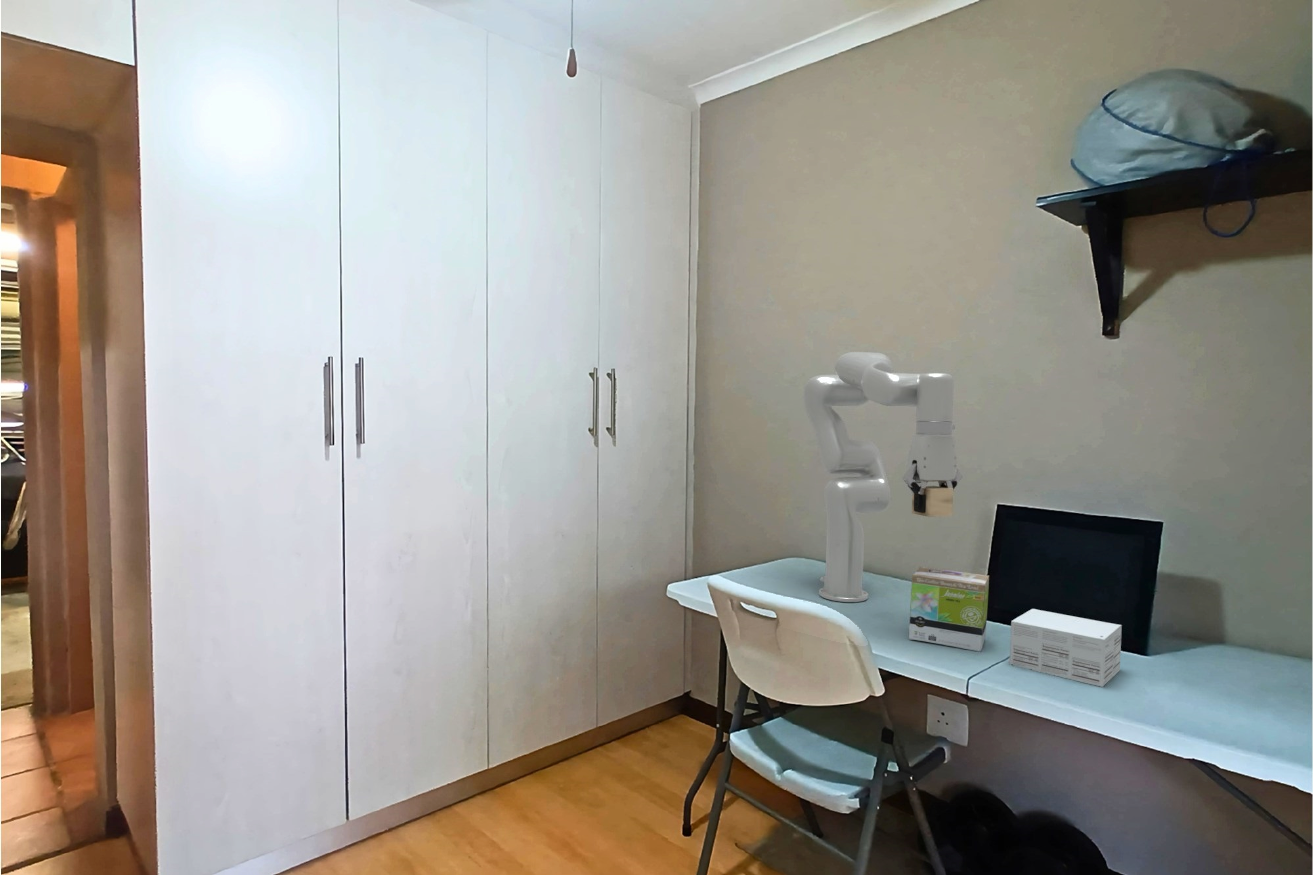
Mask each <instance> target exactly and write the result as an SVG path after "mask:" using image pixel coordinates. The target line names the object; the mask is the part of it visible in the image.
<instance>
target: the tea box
mask: <svg viewBox="0 0 1313 875" xmlns="http://www.w3.org/2000/svg"><path fill="white" fill-rule="evenodd" d="M989 581H990V575H986V574H980V573H979V574H978V573H973V572H964V571H956V570H951V569H949V570H948V569H941V568H934V567H926V566H925V567H924V566H918V568H917V570H916V571H915V572H914V573H913V574H912V577H911V589H910V591H911V592H910V607H909V609H910V610H909V625H908V626H909V628H908V638H909V639H908V640H912V641H919V642H920V641H921V642H927V643H932V644H938V645H943V646H949V647H954V648H958V649H964V650H968V651H972V652H973V651H974V652H978V653H980V652H981V651H982V649H983V646H984V642H985V640H986V633H987V632H986V631H987V620H988V604H989V603H988V602H989V586H990V585H989V584H990V582H989Z"/></svg>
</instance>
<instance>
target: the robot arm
mask: <svg viewBox="0 0 1313 875" xmlns="http://www.w3.org/2000/svg"><path fill="white" fill-rule="evenodd" d="M834 364H835V365H834V372H835V374H819V375H815V376H813V377H811V378H810V379H808V380H807V382H806V384H804V388H803V397H802V398H803V405H804V410H805V413H806V415H807V418H808V420H809V422H810V424H811V426H812V428H813V431H814V434H815V440H816V445H817V448H818V452H819V456H820V460H821V464H822V467H823V470H824V471H825V472H826V473H827V474H829V475H834V476H841V477H837V478H834V479H832V480H829V481H828V483H826V485H825V487H824V491H823V493H824V494H823V496H824V497H823V498H824V504H825V505H824V506H825V511H826V549H825V550H826V553H825V575H824V576H820V578H819V580H820V582H822V583H823V587H821V588H819V590H818V595H819V597H821V598H823V599H826V600H830V601H835V602H841V603H859V602H864V601H867V600H868V598H869V593H868V592H867V591H865V590H864V589H863V578H864V577H863V576H864V575H863V573H864V550H865V549H864V548H865V544H864V543H865V530H864V527H863V524H862V523H861V521H860V519H859V518H858V516H857V514H868V513H869V514H873V513H882V512H884V511H886V510H887V509H888V508H889V506H890V504H891V500H892V499H891V498H892V494H891V488H890V484H889V480H888V479H889V478H888V477H887V473H886V468H885V465H884V462H883V457H882V455H881V451H880V450H879V448H878V447H877V445H876V444H875V443H873V442H872V441H870V440H867V439H852V438H851V437H850V436H849V432H848V430H847V424H846V422H845V421H844V419H843V418H842V417H841V416H840V414H839V413H838V412H836V410H834V408H833V407H861V406H863V405H865V404H867V403H868V402H869V401H872V402H874V403H876V404H878V405H879V404H880V405H882V406H886V407H913V408H914V407H916V418H915V422H916V423H915V435H912V438H911V441H910V445H909V451H908V459H907V460H908V461H907V471H906V472H905V473H904V474H903V476H902V480H903V481H904V483H905V484H906V485H907V487H908V488H909V489H910V492H911V494H912V493H914V511H915V512H920V513H925V512H926V495H925V494H924V491H925V488H926V486H928V482H929V483H930V482H937V483H938V486H939V487H946V488H953V492H954V490H955V488H956V487H957V486H958V483H959V482H960V481H961V480H962V479H963V475H962V474H961V472H960V470H958V468H957V461H958V460H957V448H956V442H955V436H954V435H953V431H955V429H956V425H954V424H953V422H954V421H953V419H954V417H953V416H954V377H953V376H952V375H951V374H949V373H945V372H942V373H941V372H931V373H930V372H927V373H913V372H912V373H909V372H908V373H907V372H894V371H893V363H892V362H891V359H890V357H888V356H887V355H885V354H884V353H881V352H870V351H869V352H868V351H867V352H865V351H850V352H846V353H843V354H842V355H841V356H839V357H838V359H837V360H836V362H835V363H834ZM842 476H843V477H842ZM847 476H848V477H847ZM919 486H920V487H919Z"/></svg>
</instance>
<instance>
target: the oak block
mask: <svg viewBox="0 0 1313 875" xmlns="http://www.w3.org/2000/svg"><path fill="white" fill-rule="evenodd" d="M919 487H920V485H919ZM953 490H954V489H953V488H946V487H939V485H938V486H937V485H926V488H925V491H924V494H925V495H926V512H925V513H920V512H915V511H914V493H912V492H911V514H914V515H917V516H923V517H928V518H936V517H938V518H940V517H953V515H954V513H953V512H954V510H953V508H954V491H953Z"/></svg>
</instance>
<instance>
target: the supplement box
mask: <svg viewBox="0 0 1313 875" xmlns="http://www.w3.org/2000/svg"><path fill="white" fill-rule="evenodd" d="M1122 626H1123V625H1122V624H1117V623H1111V622H1106V621H1100V620H1095V619H1090V618H1084V617H1078V616H1073V615H1067V614H1063V613H1059V612H1058V613H1057V612H1052V611H1046V610H1042V609H1041V610H1040V609H1036V608H1031V609H1030V610H1028V611H1026V612H1024V613H1023V614H1020V615H1019V616H1017V617H1016V618H1014V619H1013V620H1011V623H1010V641H1009V642H1010V643H1009V645H1010V647H1009V662H1008V663H1009V664H1008V665H1010V664H1013V665H1015V666H1014V667H1018V666H1020V667H1019V668H1022V667H1023V669H1026V668H1027V670H1030V669H1032V670H1031V671H1033V672H1038V671H1040V672H1039V673H1043V674H1046V673H1047V675H1051V676H1054V675H1055V676H1056V677H1059V678H1063V679H1068V680H1072V681H1076V682H1081V683H1084V684H1089V685H1093V686H1097V687H1101V688H1103V687H1104V686H1105V685H1106V684H1107V683H1108V682H1109V681H1110V680H1112V679H1113V677H1115V675H1117V674H1118V673H1119V672H1120V670H1121V655H1122V654H1121V653H1122V651H1121V650H1122V648H1121V646H1122ZM1013 665H1012V666H1013ZM1055 676H1054V677H1055Z"/></svg>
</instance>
